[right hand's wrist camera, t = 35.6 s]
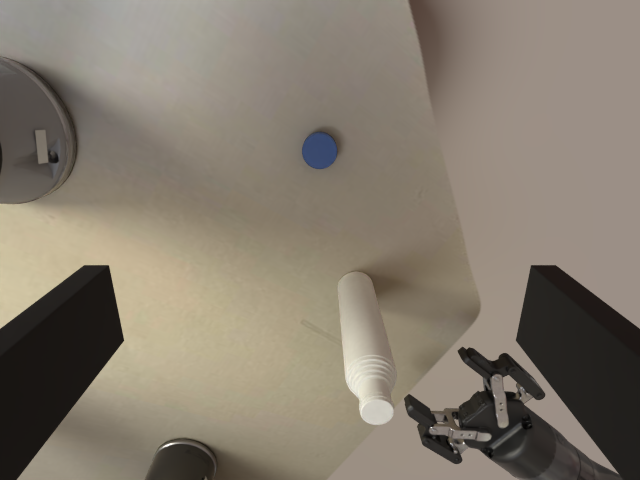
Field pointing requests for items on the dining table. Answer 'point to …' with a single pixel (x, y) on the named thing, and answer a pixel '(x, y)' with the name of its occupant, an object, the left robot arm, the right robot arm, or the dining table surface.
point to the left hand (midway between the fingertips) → (434, 377)
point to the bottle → (366, 348)
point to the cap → (319, 150)
